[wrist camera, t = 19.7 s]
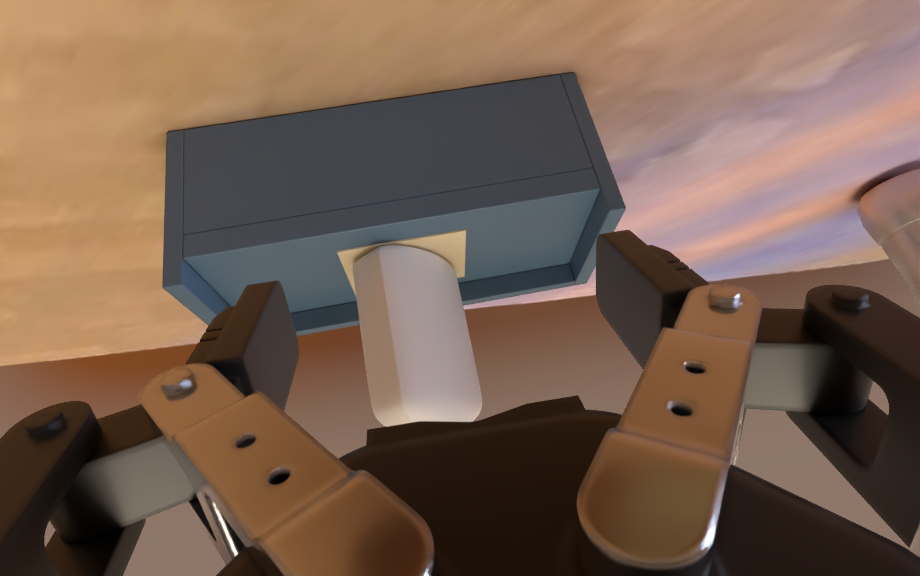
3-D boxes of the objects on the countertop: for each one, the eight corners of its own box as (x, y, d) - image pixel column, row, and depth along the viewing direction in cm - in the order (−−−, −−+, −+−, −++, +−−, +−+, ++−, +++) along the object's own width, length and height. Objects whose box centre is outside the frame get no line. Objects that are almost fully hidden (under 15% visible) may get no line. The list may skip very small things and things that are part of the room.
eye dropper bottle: (382, 295, 30) (417, 529, 25) (342, 251, 25) (377, 536, 20) (458, 275, 29) (509, 509, 25) (434, 226, 24) (493, 511, 19)
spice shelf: (574, 71, 27) (626, 208, 24) (533, 231, 42) (562, 330, 39) (166, 132, 26) (162, 287, 22) (271, 276, 40) (278, 383, 37)
